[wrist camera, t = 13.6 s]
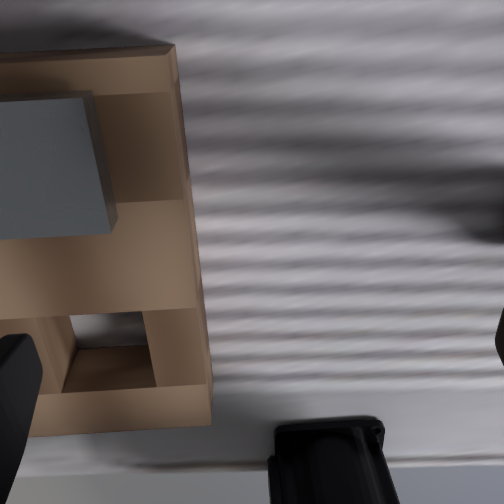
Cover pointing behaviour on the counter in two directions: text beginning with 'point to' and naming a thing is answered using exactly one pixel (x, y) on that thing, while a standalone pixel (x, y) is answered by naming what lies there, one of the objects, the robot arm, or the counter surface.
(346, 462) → the robot arm
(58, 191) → the gray rectangular block
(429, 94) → the counter surface
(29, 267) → the socket block
